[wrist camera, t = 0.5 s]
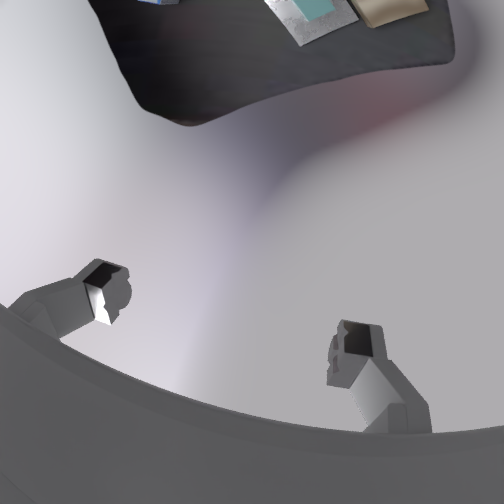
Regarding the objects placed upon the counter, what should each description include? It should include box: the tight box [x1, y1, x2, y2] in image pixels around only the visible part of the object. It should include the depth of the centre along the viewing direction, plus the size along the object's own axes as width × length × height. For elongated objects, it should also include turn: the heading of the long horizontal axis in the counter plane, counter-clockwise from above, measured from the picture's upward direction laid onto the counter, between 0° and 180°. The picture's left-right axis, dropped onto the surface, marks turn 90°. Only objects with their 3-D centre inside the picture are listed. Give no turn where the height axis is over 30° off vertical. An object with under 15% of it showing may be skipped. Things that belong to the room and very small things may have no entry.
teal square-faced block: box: [291, 0, 336, 21], centre depth 30 cm, size 5×5×8 cm
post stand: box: [264, 0, 359, 46], centre depth 32 cm, size 12×12×6 cm
